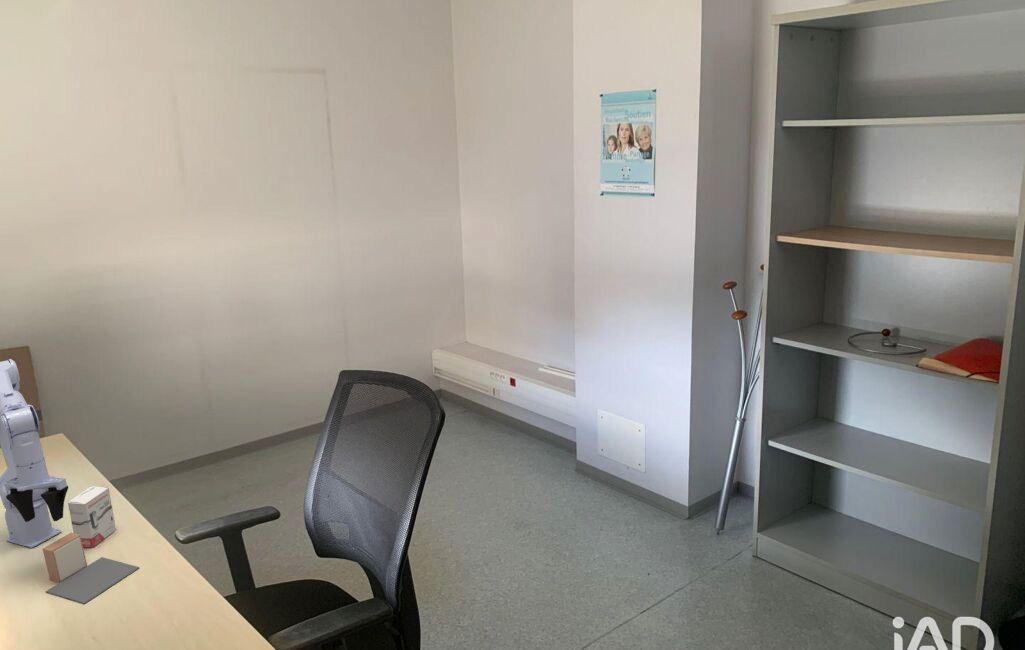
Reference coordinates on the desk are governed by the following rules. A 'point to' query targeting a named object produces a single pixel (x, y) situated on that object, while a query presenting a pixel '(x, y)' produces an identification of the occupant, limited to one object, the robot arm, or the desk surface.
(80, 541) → the salmon tan block
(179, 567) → the desk surface
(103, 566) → the rubber mat
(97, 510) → the ink box
